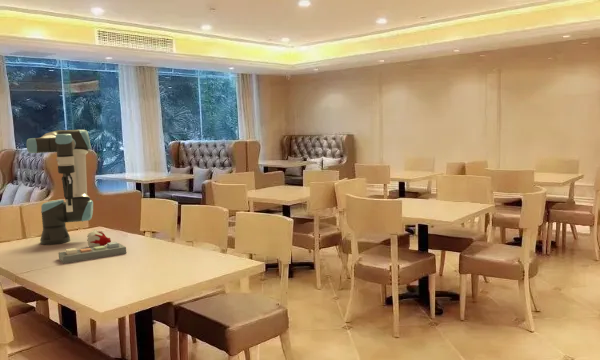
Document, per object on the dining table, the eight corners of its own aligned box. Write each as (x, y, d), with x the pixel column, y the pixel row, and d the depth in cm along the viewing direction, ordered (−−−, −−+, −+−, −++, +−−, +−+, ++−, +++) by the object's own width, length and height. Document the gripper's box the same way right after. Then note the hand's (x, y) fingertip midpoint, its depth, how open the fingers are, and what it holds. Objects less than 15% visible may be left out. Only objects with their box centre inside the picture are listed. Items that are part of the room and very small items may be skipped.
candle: (89, 244, 275) (116, 247, 274) (78, 248, 264) (106, 252, 263) (90, 227, 274) (117, 231, 273) (79, 231, 263) (107, 235, 262)
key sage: (94, 252, 252) (93, 247, 252) (103, 250, 254) (102, 245, 254) (96, 253, 248) (96, 248, 248) (105, 252, 251) (105, 247, 251)
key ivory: (65, 254, 244) (65, 249, 244) (75, 253, 247) (75, 247, 246) (67, 256, 241) (67, 250, 240) (77, 254, 243) (77, 249, 243)
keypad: (58, 259, 246) (58, 252, 245) (119, 249, 262) (119, 243, 262) (63, 263, 237) (63, 256, 236) (126, 253, 253) (126, 247, 253)
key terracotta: (80, 254, 248) (79, 249, 248) (89, 252, 251) (89, 247, 250) (82, 256, 244) (81, 250, 244) (91, 254, 247) (91, 249, 247)
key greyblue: (107, 248, 255) (107, 243, 255) (116, 246, 258) (116, 241, 258) (109, 249, 252) (109, 244, 252) (118, 248, 254) (118, 243, 254)
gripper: (54, 164, 255) (58, 210, 258) (60, 166, 245) (64, 214, 248) (70, 163, 260) (74, 208, 263) (77, 165, 249) (80, 212, 252)
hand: (69, 211), depth 255 cm, fingers closed
